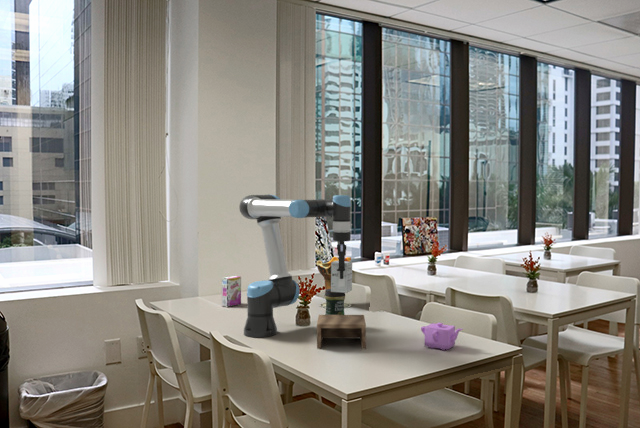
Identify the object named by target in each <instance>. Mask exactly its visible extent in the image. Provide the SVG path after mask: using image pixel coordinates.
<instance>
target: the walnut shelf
mask: <svg viewBox="0 0 640 428" xmlns="http://www.w3.org/2000/svg"><path fill="white" fill-rule="evenodd" d="M366 332H367V324H366V318H365V314H345V315H325V314H318V317H317V322H316V349H322V343H323V339H360V345H361V349H363V350H366V349H367V344H366V343H367V342H366V341H367V333H366Z"/></svg>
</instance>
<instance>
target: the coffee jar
mask: <svg viewBox="0 0 640 428" xmlns="http://www.w3.org/2000/svg"><path fill="white" fill-rule="evenodd" d="M324 293H325V294H324V298H325V303H326V308H325V314H324V315H346V314H345V308H344V303H345V299H346V293H342V292H331V289H326V290H325V292H324Z"/></svg>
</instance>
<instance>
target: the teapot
mask: <svg viewBox="0 0 640 428" xmlns="http://www.w3.org/2000/svg"><path fill="white" fill-rule="evenodd" d="M461 330H463V328H457V329H456V326H455V325H449V324H444V323H442V322H437V323H434V322H432V323H430V324H428V325H426V326H421V327H420V331H421V332H422V334H423V335H424V347H428V348H430V349H440V350H441V349H442V350H441V351H446V350H450V349H451V348H452V347H454V346H455V345H456V340H457V339H458V335H459V332H461ZM445 349H446V350H445Z"/></svg>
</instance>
